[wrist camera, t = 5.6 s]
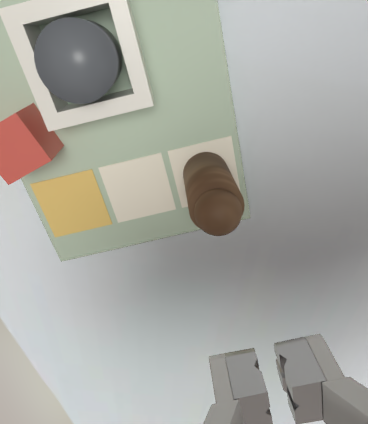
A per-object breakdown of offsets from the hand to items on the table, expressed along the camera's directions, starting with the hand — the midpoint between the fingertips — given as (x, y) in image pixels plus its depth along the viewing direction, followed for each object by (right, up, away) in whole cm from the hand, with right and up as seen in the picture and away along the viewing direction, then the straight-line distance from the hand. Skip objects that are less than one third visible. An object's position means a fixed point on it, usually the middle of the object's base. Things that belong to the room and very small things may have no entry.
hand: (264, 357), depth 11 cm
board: (-7, +11, +15) cm, 20 cm away
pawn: (-1, +8, +16) cm, 18 cm away
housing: (-9, +15, +12) cm, 21 cm away
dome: (-9, +15, +11) cm, 21 cm away
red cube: (-14, +10, +14) cm, 22 cm away
